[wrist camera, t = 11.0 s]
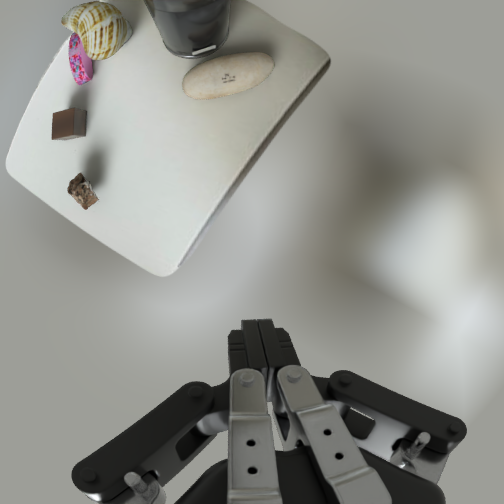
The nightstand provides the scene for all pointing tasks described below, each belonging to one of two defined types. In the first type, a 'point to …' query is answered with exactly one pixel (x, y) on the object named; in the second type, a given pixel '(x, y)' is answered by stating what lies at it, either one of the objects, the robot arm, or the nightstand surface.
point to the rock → (82, 191)
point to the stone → (227, 75)
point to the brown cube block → (69, 124)
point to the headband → (79, 61)
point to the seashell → (98, 28)
